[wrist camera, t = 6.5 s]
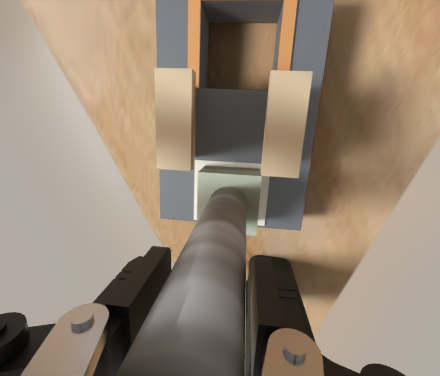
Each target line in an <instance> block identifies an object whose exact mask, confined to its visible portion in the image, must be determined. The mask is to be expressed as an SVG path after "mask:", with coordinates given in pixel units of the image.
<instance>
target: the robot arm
mask: <svg viewBox="0 0 440 376" xmlns="http://www.w3.org/2000/svg"><path fill="white" fill-rule="evenodd" d="M170 272H171V249H170V248H168V247H157V246H152V247H151V249H150V250H149V251H148V252H147V254H146V255H145V256H144V257H141V256H139V257H137V258H135V259H133V260H132V261H130V262H128V264H127V265H126V266H125V267H124V268H123V269H122V270H121V272H120V273H119V274H118V275H117V276H116V277H115V279H113V281H112V282H111V283H110V284H109V285H108V286H107V287H106V288H105V290H104V291H103V292H102V293H101V294H100V295H99V296H98V297H97V299H96V300H95V301H94V302H93V303H90V304H85V305H81V306H78V307H76V308H74V309H72V310H70V311H69V312H67V313H66V314H64V315H63V316H62V317H61V318H60V319H59V320H58V321H57V323H55V324H48V325H41V326H34V327H28V325H27V320H26V317H25V316H24V315H23V314H21V313H16V312H12V313H4V314H0V376H116V374H117V372H118V370H119V368H120V366H121V364H122V362H123V360H124V359H125V357H126V355H127V353H128V351H129V349H130V347H131V345H132V344H133V342H134V340H135V338H136V336H137V334H138V332H139V330H140V329H141V327H142V325H143V323H144V321H145V319H146V317H147V315H148V314H149V312H150V310H151V308H152V306H153V304H154V302H155V300H156V299H157V297H158V295H159V293H160V291H161V289H162V287H163V285H164V284H165V282H166V280H167V278H168V276H169V274H170ZM250 321H251V376H405V375H403V374H402V373H401V372H399V371H397V370H395V369H393V368H391V367H388V366H385V365H382V364H368V365H366V366H365V367H363V368H362V370H361V373H360V374H359V373H357V372H355V371H352V370H350V369H348V368H345V367H343V366H341V365H338V364H336V363H334V362H332V361H330V360H329V359H327V358H326V357H325V356H323V355H322V354H321V351H320V349H319V347H318V346H317V345H316V343H315V342H314V341H313V340H312V339H311V338H310V337H309V336H308V334H307V331H306V327H305V324H304V320H303V317H302V314H301V310H300V307H299V303H298V301H297V297H296V293H295V290H294V286H293V283H292V280H291V279H290V278H289V277H288V276H287V274H286V273H285V272H281V271H274V268H273V263H272V258H265V257H255V256H254V260H253V270H252V281H251V294H250Z"/></svg>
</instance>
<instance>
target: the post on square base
mask: <svg viewBox="0 0 440 376" xmlns="http://www.w3.org/2000/svg"><path fill="white" fill-rule="evenodd" d="M261 181H262V176H261V172H260V169H258V168H242V167H226V166H210V165H205V166H204V167H203V168H202V169H201V170H200V171H198V188H197V224H196V225H195V227H194V229H193V231H192V233H191V235H190V237H189V239H188V240H187V242H186V244H185V246H184V248H183V250H182V252H181V254H180V255H179V257H178V259H177V261H176V263H175V265H174V267H173V269H172V270H171V272H170V274H169V276H168V278H167V280H166V282H165V284H164V285H163V287H162V289H161V291H160V293H159V295H158V297H157V299H156V300H155V302H154V304H153V306H152V308H151V310H150V312H149V314H148V315H147V317H146V319H145V321H144V323H143V325H142V327H141V329H140V330H139V332H138V334H137V336H136V338H135V340H134V342H133V344H132V345H131V347H130V349H129V351H128V353H127V355H126V357H125V359H124V360H123V362H122V364H121V366H120V368H119V370H118V372H117V374H116V376H245V289H246V235H253V236H256V235H257V224H258V213H259V203H260V192H261Z"/></svg>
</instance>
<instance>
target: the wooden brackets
mask: <svg viewBox="0 0 440 376" xmlns="http://www.w3.org/2000/svg"><path fill="white" fill-rule="evenodd" d="M154 74H155V114H156V154H157V169H166V170H181V171H192V170H193V169H194V157H195V140H196V72H195V71H194V70H193V69H187V68H154ZM312 74H313V71H279V70H271V72H270V75H269V86H268V97H267V108H266V119H265V130H264V141H263V152H262V163H261V176H272V177H287V178H299V171H300V163H301V156H302V149H303V141H304V134H305V126H306V119H307V111H308V104H309V97H310V89H311V82H312Z"/></svg>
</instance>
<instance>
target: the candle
mask: <svg viewBox="0 0 440 376" xmlns="http://www.w3.org/2000/svg"><path fill="white" fill-rule="evenodd" d="M255 257H265V258H272V263H273V268H274V271H281V272H285V273H286V274H287V276H288V277H289V278H290V279H291V280H292V283H293V286H294V290H295V293H296V297H297V301H298V303H299V307H300V310H301V314H302V317H303V320H304V324H305V327H306V331H307V334H308V336H309V337H310V338H311V339H312V340H313V341H314V342H315V339H314V336H313V333H312V330H311V327H310V324H309V321H308V317H307V314H306V311H305V308H304V305H303V302H302V299H301V295H300V292H299V289H298V286H297V283H296V280H295V277H294V273H293V270H292V267H291V264H290V263H289V261H287V260H286V259H282V258H275V257H267V256H260V255H257V256H255ZM253 260H254V257H252V258H251V259H250V260H249V275H248V281H246V352H245V376H251V321H250V294H251V281H252V270H253Z"/></svg>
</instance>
